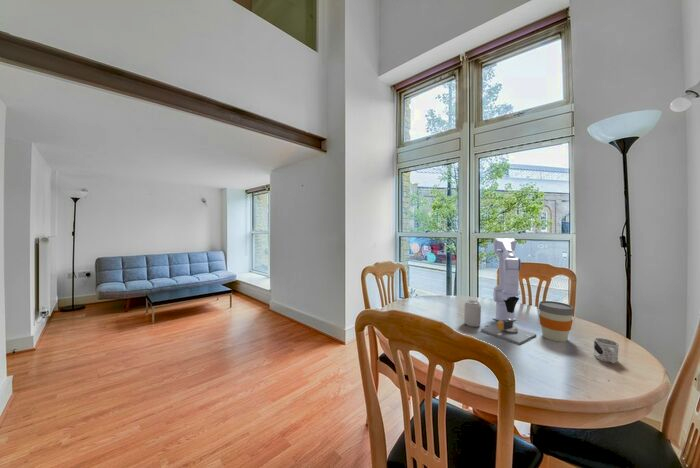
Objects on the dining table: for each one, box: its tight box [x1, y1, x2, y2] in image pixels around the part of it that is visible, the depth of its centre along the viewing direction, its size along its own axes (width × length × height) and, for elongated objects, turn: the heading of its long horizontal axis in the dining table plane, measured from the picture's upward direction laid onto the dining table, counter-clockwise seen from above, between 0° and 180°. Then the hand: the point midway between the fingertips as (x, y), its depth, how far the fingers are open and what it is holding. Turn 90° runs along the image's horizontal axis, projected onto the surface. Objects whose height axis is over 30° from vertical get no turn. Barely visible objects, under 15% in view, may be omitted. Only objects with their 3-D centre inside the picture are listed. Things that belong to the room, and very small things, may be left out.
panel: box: [480, 322, 537, 346], centre depth 123 cm, size 16×17×1 cm
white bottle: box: [463, 300, 482, 328], centre depth 134 cm, size 8×8×12 cm
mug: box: [593, 337, 619, 364], centre depth 99 cm, size 10×7×7 cm
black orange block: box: [496, 318, 519, 333], centre depth 124 cm, size 11×7×5 cm, turn 115°
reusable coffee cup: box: [538, 300, 574, 343], centre depth 119 cm, size 13×12×15 cm
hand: (510, 312), depth 123 cm, fingers closed
